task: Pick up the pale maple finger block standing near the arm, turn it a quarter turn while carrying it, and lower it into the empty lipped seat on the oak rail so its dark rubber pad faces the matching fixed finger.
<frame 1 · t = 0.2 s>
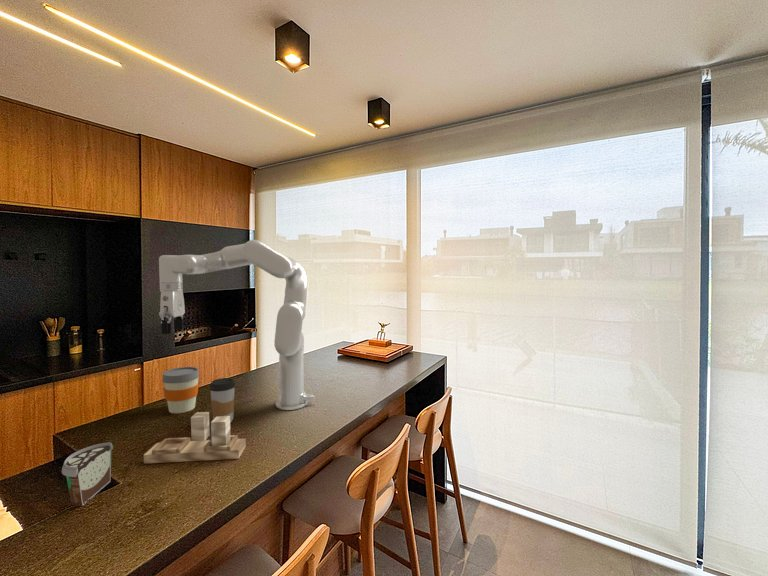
hand: (172, 331, 135), 31 cm above the counter, fingers open, 9 cm apart
food container: (84, 494, 86), on the counter
reusable coffee cup: (182, 409, 137), on the counter
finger: (200, 438, 113), on the counter
coffee cup: (223, 422, 125), on the counter
rail: (197, 454, 103), on the counter
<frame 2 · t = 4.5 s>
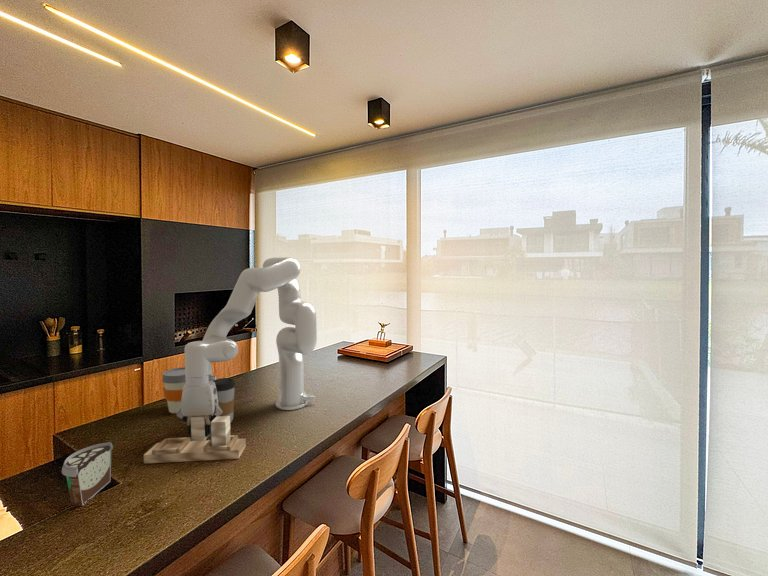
hand: (200, 434, 113), 1 cm above the counter, fingers closed on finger, 4 cm apart
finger: (200, 438, 113), on the counter, touching gripper
everything else where it was.
when the fingers open (5 cm above the counter, at t = 9.1 s): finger drops 1 cm, resting on rail.
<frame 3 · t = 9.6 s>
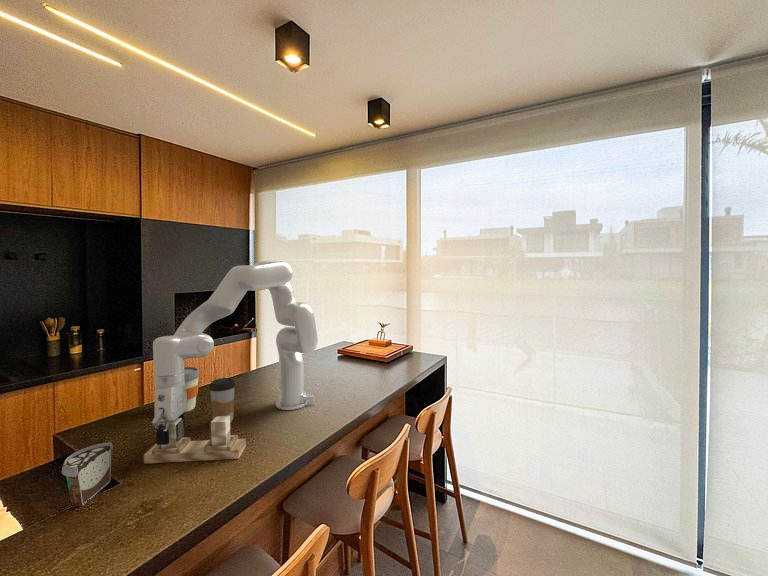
hand: (171, 435, 102), 6 cm above the counter, fingers open, 9 cm apart
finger: (172, 447, 103), point 2 cm above the counter, touching rail
everything else where it was.
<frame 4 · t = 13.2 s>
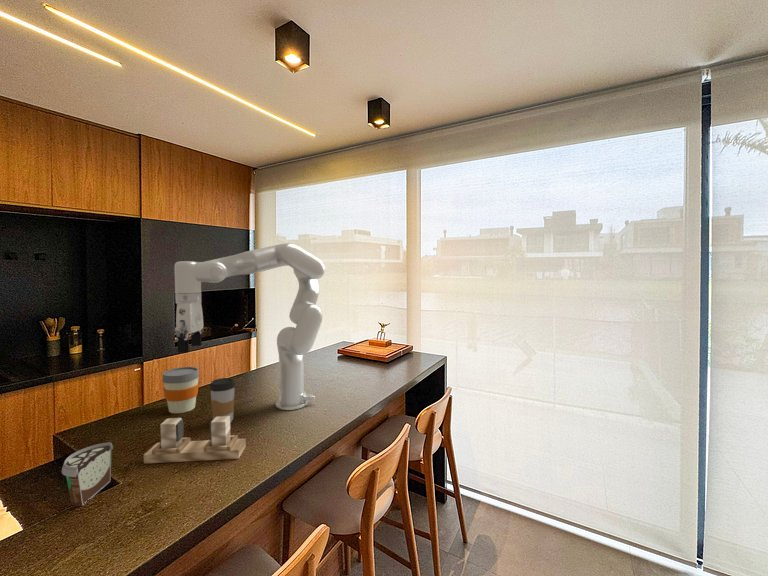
hand: (190, 348, 117), 28 cm above the counter, fingers open, 9 cm apart
nothing on the counter moved.
at the end: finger 0.1 cm from the target spot on the rail, point 2.5 cm above the rail's base; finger tilted 0°; the gripper is holding nothing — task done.
